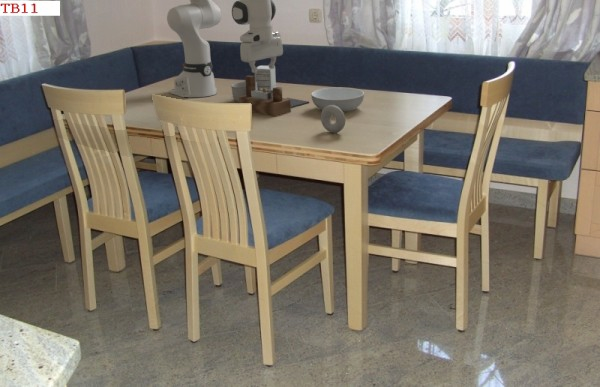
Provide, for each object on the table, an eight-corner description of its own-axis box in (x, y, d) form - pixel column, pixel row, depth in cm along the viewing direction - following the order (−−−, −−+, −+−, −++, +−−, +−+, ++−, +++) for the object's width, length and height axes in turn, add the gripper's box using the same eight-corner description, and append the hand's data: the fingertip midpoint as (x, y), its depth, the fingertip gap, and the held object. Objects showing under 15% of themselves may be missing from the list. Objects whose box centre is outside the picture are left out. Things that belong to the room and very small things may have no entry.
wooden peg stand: (239, 109, 299) (237, 77, 295) (255, 105, 306) (253, 73, 301) (275, 116, 287) (273, 83, 282) (290, 111, 293) (289, 79, 288)
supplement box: (260, 94, 325) (259, 65, 321) (276, 94, 323) (275, 65, 319) (255, 97, 318) (253, 68, 314) (271, 98, 316) (270, 68, 312)
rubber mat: (268, 104, 305) (268, 103, 305) (287, 99, 314) (287, 97, 313) (289, 108, 298) (289, 107, 298) (309, 103, 306) (309, 101, 306)
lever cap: (251, 98, 295) (250, 88, 294) (261, 95, 299) (260, 86, 298) (267, 101, 290) (267, 91, 288) (277, 98, 293) (277, 89, 292)
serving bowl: (304, 114, 288) (303, 97, 286) (321, 102, 307) (321, 86, 304) (355, 118, 281) (355, 100, 279) (370, 105, 300) (370, 88, 297)
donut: (319, 131, 264) (318, 104, 261) (324, 129, 267) (324, 102, 263) (341, 136, 258) (341, 108, 255) (347, 133, 261) (347, 105, 257)
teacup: (254, 105, 305) (253, 86, 302) (229, 105, 307) (227, 86, 304) (262, 97, 318) (261, 79, 315) (238, 97, 320) (237, 79, 317)
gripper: (274, 30, 295) (275, 65, 299) (236, 37, 281) (239, 73, 285) (285, 31, 291) (287, 66, 295) (248, 38, 277) (250, 75, 281)
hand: (263, 70), depth 290 cm, fingers open, 8 cm apart
